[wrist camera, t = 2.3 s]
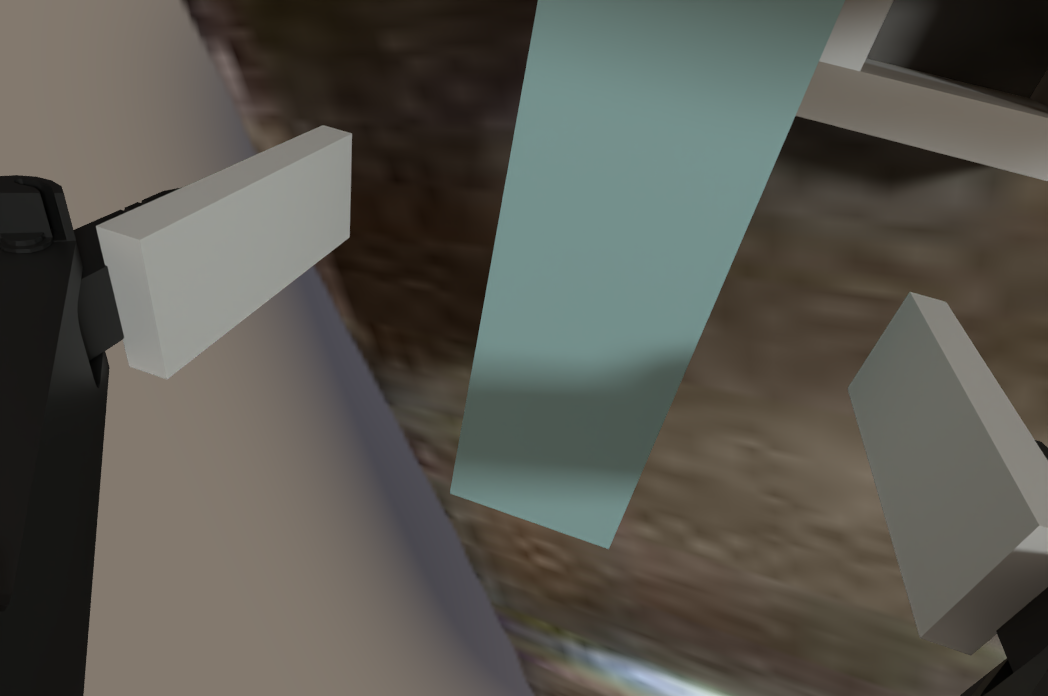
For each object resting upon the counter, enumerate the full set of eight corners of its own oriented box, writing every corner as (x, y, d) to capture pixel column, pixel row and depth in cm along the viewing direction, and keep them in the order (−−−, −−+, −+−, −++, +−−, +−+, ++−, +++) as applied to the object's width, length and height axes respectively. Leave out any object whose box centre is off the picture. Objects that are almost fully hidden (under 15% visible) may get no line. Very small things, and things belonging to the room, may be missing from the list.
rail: (650, 331, 29) (608, 549, 18) (547, 299, 29) (450, 493, 19) (802, -79, 20) (899, -127, 9) (650, -114, 20) (572, -196, 10)
